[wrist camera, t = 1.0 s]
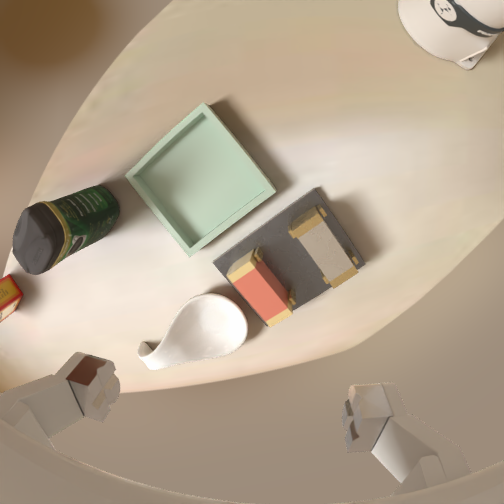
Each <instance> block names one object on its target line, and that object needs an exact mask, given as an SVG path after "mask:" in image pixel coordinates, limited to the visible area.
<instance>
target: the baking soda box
mask: <svg viewBox="0 0 504 504" xmlns="http://www.w3.org/2000/svg"><path fill="white" fill-rule="evenodd" d="M22 296H23V293H22V292H21V290H20V289H19V287H18V286H17V284H16V283H15V282H14V280H13V279H12V277H11V276H10V274H9V275H7V276H5V277H4V278H2V279H0V322H1V321H3V320H4V319H5V318H7V317H8V316H9V315H10V314H12V313H13V312H14V311H15V310H16V308H17V306H18V304H19V302H20V300H21V298H22Z"/></svg>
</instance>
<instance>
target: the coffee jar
mask: <svg viewBox="0 0 504 504" xmlns="http://www.w3.org/2000/svg"><path fill="white" fill-rule="evenodd" d="M118 215H119V206H118V203H117V201H116V200H115V198H114V197H113V196H112V194H111V193H110V192H109V191H108V190H107V189H105V188H104V187H102V186H99V185H97V186H93V187H89V188H86V189H84V190H81V191H78V192H76V193H73V194H71V195H68V196H65V197H62V198H59V199H57V200H54V201H50V202H47V201H42V202H38V203H36V204H34V205H32V206H30V207H28V208H26V209H25V210H24V211H23V212H22V214H21V216H20V219H19V220H18V223H17V226H16V229H15V232H14V235H13V254H14V256H15V258H16V259H17V261H18V262H19V264H20V265H21V266H22V268H23V269H24V270H25V271H26V272H27V273H30V274H33V275H38V274H41V273H44V272H46V271H48V270H50V269H51V268H52V267H54V266H55V265H56V264H58V263H59V262H60V261H62V260H63V259H65V258H66V257H68V256H70V255H72V254H74V253H75V252H77V251H79V250H81V249H83V248H85V247H87V246H89V245H91V244H93V243H95V242H97V241H99V240H100V239H102V238H103V237H104V236H105V235H106V234H107V233H108V232H109V230H110V229H111V228H112V226H113V225H114V223H115V222H116V220H117V218H118Z"/></svg>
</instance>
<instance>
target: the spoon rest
mask: <svg viewBox="0 0 504 504" xmlns="http://www.w3.org/2000/svg"><path fill="white" fill-rule="evenodd" d="M247 334H248V322H247V319H246V316H245V314H244V313H243V311H242V309H241V308H240V307H239V306H238V305H237V304H236V303H235V302H234V301H232V300H231V299H229V298H227V297H225V296H223V295H220V294H215V293H206V294H201V295H197V296H195V297H193V298H191V299H189V300H188V301H187V302H186V303H185V304H183V306H182V307H181V308H180V309H179V310H178V312H177V313H176V315H175V317H174V319H173V320H172V322H171V324H170V326H169V328H168V330H167V332H166V334H165V336H164V337H163V339H162V341H161V343H160V344H159V345H158V347H157V348H156V349H155V350H154V351H153V350H152V349H151V348H150V347H149V346H148V345H147V344H146V343H145V342H141V343H140V345H139V348H138V356H139V358H140V359H141V360H143V361H144V362H145V364H146V365H147V366H148V368H149V369H151V370H157V369H163V368H167V367H170V366H174V365H178V364H183V363H188V362H195V361H201V360H207V359H213V358H217V357H221V356H225V355H227V354H230V353H232V352H234V351H236V350H237V349H238V348H239V347H241V345H242V344H243V343H244V341H245V340H246V337H247Z"/></svg>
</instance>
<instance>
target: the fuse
mask: <svg viewBox="0 0 504 504" xmlns="http://www.w3.org/2000/svg"><path fill="white" fill-rule="evenodd" d="M254 254H255V250H254V249H253V250H252V251H250V252H249V253H247V254H246V255H245V256H243V257H242V258H240V259H239V260H237V261H236V262H235V263H233V265H232V267H231V269H230V271H229V273H228V276H227V278H228V279H229V280H230V281H231V282H232V284H233V285H234V286H235V287H236V288H237V289H238V291H239V292H240V293H241V294H242V295H243V297H244V298H245V299H246V300H247V301H248V302H249V304H250V305H251V306H252V307H253V308H254V309H255V311H256V312H257V313H258V314H259V315H260V316H261V317H262V319H263V320H264V321H265V322H266V323H267V324H268V326H269V327H272V326H273V325H275V324H277V323H278V322H280V321H282V320H284V319H285V318H287V317H289V316H290V315H292V314H293V310H292V303H291V302H290V300H289V293H288V292H287V291H286V289H285V288H284V287H283V286H282V284H281V283H280V282H279V281H278V279H277V278H276V277H275V276H274V274H273V273H272V272H271V270H270V269H269V268H268V267H267V265H266V264H265V263H264V262H263V260H262V261H260V262H258V261H257V259H256V258H255V257H254Z"/></svg>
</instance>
